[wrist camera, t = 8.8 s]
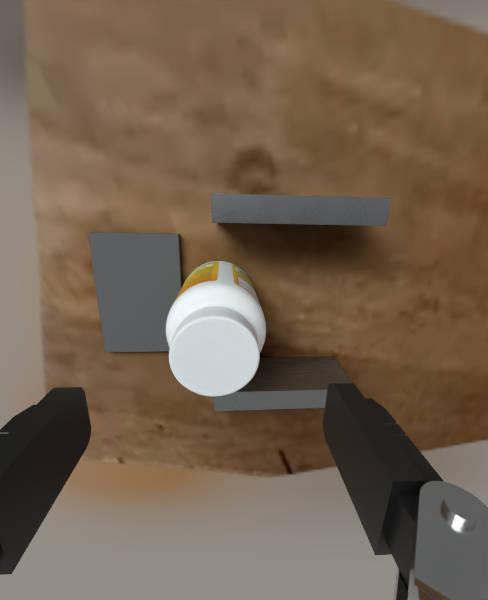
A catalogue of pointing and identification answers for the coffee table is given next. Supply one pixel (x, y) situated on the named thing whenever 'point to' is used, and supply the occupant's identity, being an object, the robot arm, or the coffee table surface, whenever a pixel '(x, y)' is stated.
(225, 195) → the grey bricks
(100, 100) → the coffee table surface
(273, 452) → the coffee table surface
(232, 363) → the supplement bottle
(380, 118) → the coffee table surface
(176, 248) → the gray rectangular block
